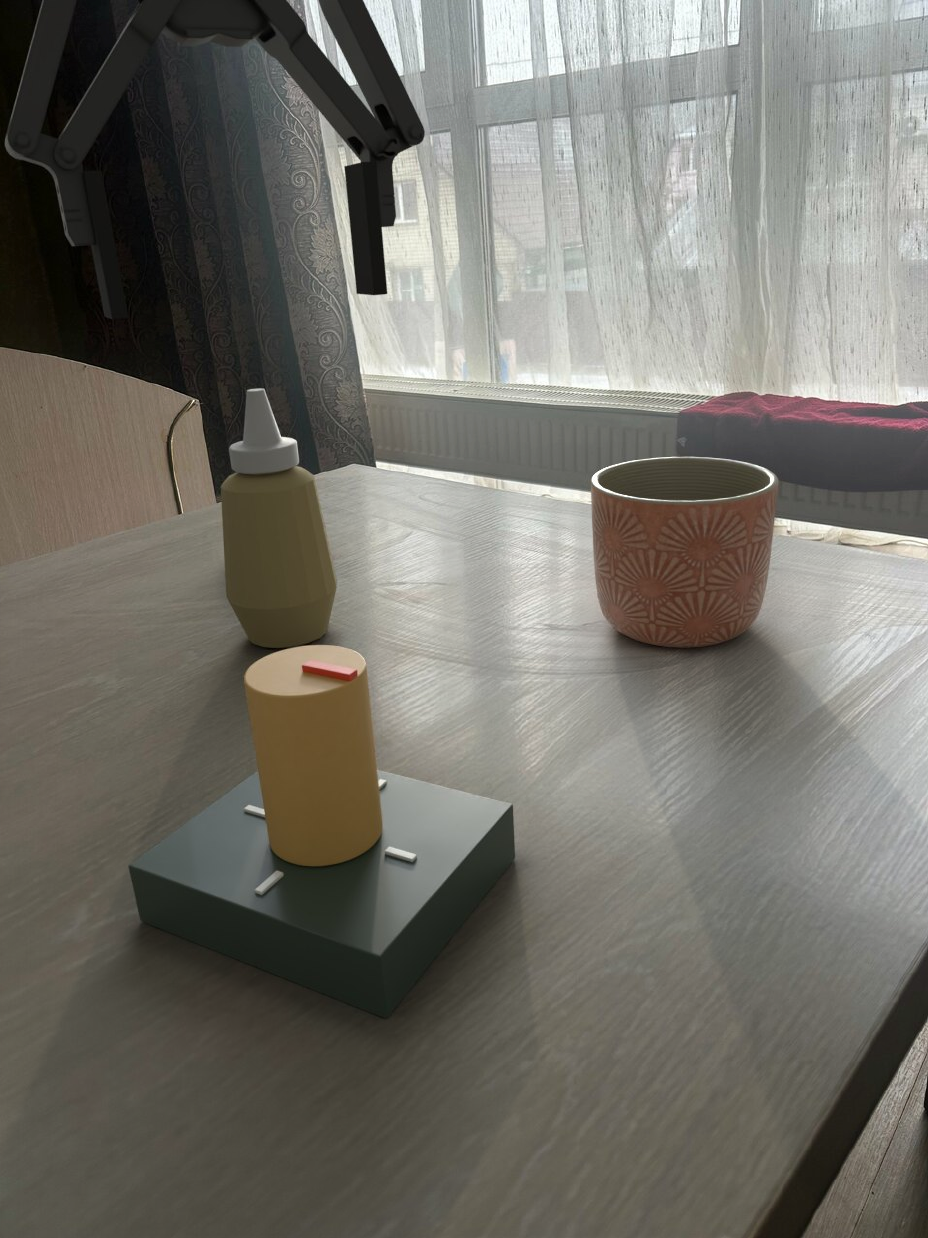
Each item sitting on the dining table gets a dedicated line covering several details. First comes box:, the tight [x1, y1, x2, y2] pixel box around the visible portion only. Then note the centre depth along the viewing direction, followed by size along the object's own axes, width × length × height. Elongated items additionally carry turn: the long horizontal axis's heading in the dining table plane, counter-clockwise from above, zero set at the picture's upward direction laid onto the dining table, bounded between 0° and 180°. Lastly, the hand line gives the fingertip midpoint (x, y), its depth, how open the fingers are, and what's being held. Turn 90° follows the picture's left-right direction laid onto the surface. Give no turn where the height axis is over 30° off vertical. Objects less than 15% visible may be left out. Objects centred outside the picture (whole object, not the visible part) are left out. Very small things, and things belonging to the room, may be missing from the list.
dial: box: [243, 644, 383, 866], centre depth 41 cm, size 5×5×8 cm
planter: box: [590, 456, 779, 649], centre depth 67 cm, size 12×12×11 cm
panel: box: [127, 769, 516, 1019], centre depth 43 cm, size 13×11×3 cm
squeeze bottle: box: [220, 388, 338, 649], centre depth 69 cm, size 8×8×18 cm
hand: (250, 305), depth 51 cm, fingers open, 13 cm apart
